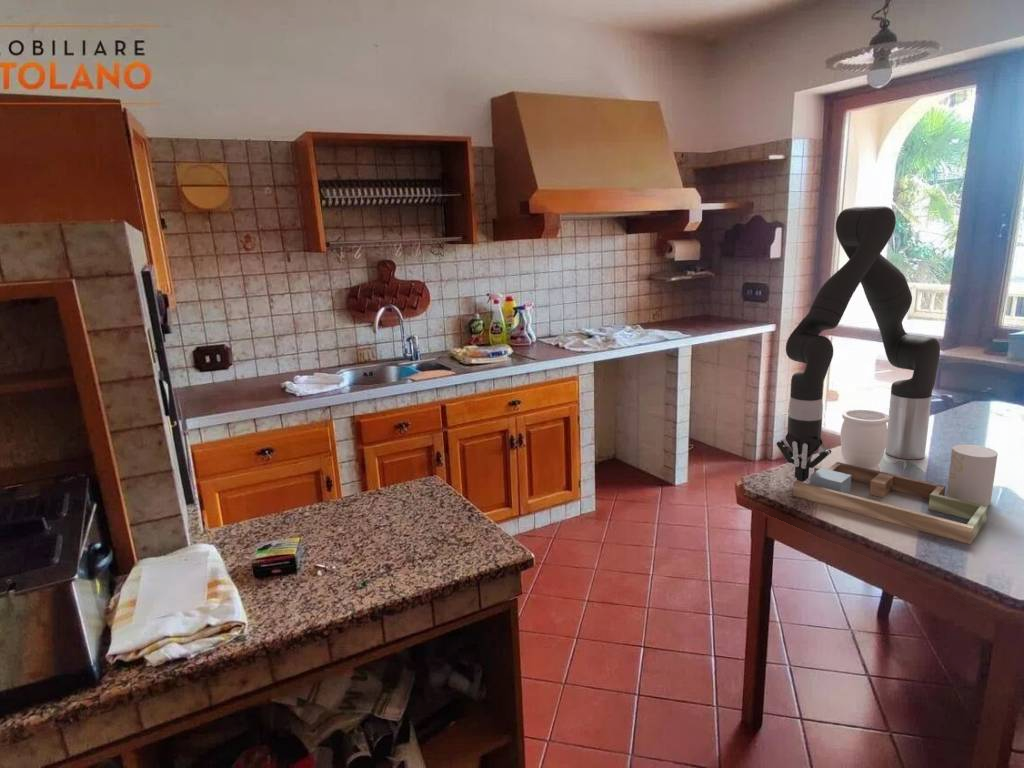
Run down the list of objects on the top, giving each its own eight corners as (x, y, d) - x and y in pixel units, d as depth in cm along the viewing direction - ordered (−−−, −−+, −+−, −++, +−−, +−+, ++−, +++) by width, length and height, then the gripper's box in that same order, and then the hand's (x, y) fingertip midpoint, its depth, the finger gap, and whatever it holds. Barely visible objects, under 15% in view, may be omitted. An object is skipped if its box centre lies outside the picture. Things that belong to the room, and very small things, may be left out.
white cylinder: (947, 489, 142) (953, 442, 139) (991, 496, 137) (998, 448, 134) (944, 501, 136) (950, 453, 133) (990, 510, 131) (997, 459, 128)
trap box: (825, 471, 156) (825, 459, 155) (992, 511, 130) (994, 496, 130) (792, 495, 144) (793, 482, 143) (970, 544, 118) (972, 528, 117)
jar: (877, 462, 160) (882, 409, 157) (889, 477, 151) (895, 421, 147) (834, 460, 163) (837, 408, 159) (843, 475, 153) (847, 420, 150)
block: (819, 486, 148) (821, 467, 147) (849, 494, 143) (851, 475, 142) (809, 494, 145) (810, 475, 144) (839, 502, 140) (841, 482, 138)
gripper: (840, 416, 142) (835, 482, 146) (785, 406, 152) (782, 469, 156) (827, 423, 137) (822, 492, 141) (771, 413, 147) (768, 478, 151)
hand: (801, 480), depth 149 cm, fingers closed
